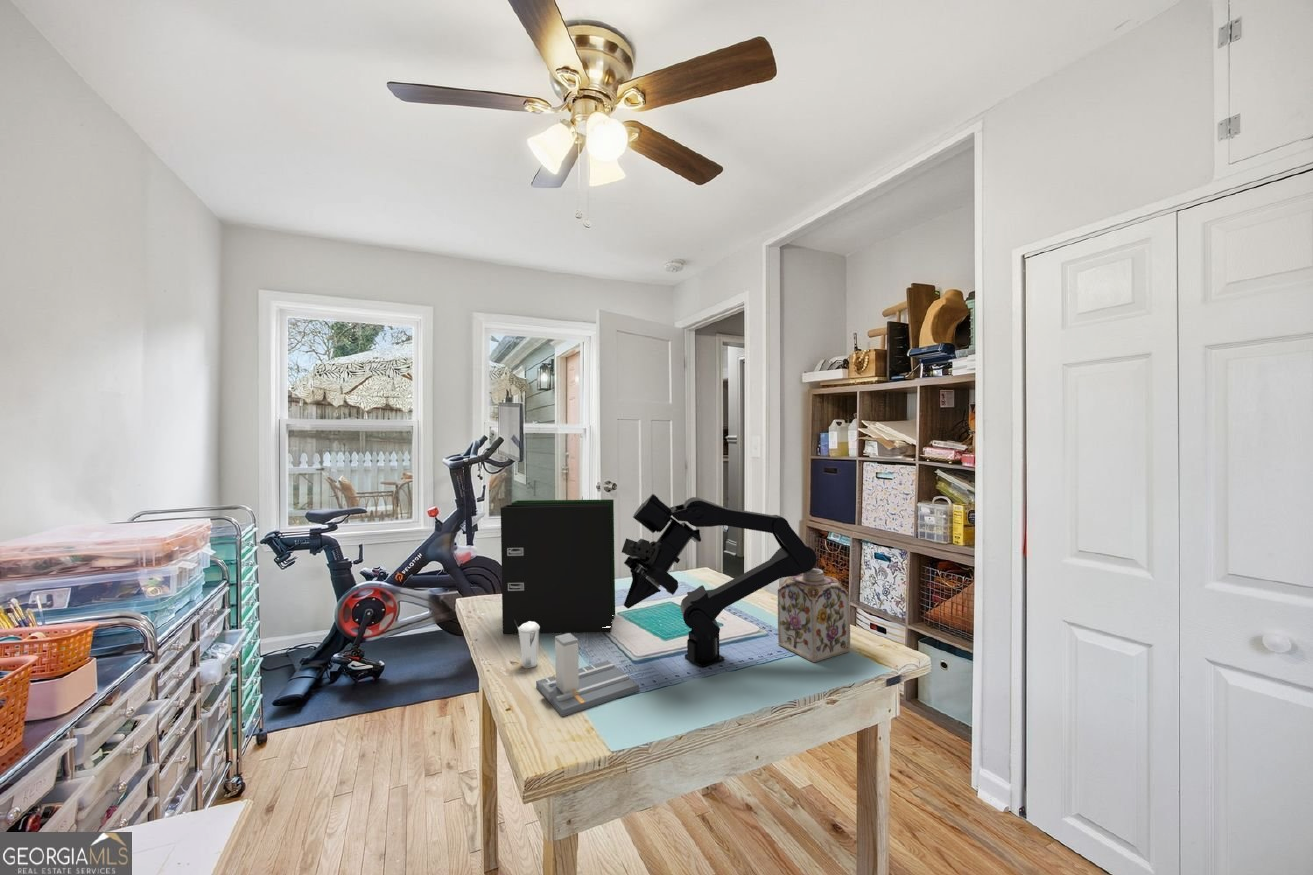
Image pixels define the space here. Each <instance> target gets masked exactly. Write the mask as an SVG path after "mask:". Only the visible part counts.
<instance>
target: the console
mask: <svg viewBox="0 0 1313 875" xmlns="http://www.w3.org/2000/svg"><path fill="white" fill-rule="evenodd" d="M535 682H536V683H535V686H536V689H537V691H539V692H540V694H542V695H543V696H544V698H545V699H546V700H547V702H549V703H550V705H552V707H553V708H554V709H555V710H556V711H557V712H558V713H559V715H560V717H566V716H568V715H572V714H574V713H579V712H581V711H584V710H586V709H590V708H592V707H596V706H597V705H601V704H603V703H607V702H609V701H614V700H616V699H618V698H621V697H624V696H628V695H630V694H633V693H636V692H639V691H640V684H639V683H638V682H637V681H635V680H634V679H633V678H631V677H630V675H628V674H627V673H625V672H624V671H622V670H621V669H619V667H617V666H615V664H614V663H612V662H610V661H609V660H605V661H600V662H597V663H594V664H591V665H587V666H584V667H580V668H579V690H573V691H572V692H569V693H566V694H563V693H562V692H561V691H560V690H559V689H558V688H557V687H556V674H554V675H553V676H549V677H545V678H542V679H538V680H536V681H535Z"/></svg>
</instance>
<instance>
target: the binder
mask: <svg viewBox="0 0 1313 875" xmlns="http://www.w3.org/2000/svg"><path fill="white" fill-rule="evenodd" d="M614 502H615V501H614V499H544V500H543V499H538V500H537V499H533V500H531V499H530V500H529V499H526V500H525V499H523V500H522V499H521V500H515V501H513V502H511V503H510V504H505V505H504V506H502V507H500V548H501V549H500V552H501V557H500V558H501V604H502V605H501V606H502V607H501V610H502V616H501V618H502V619H501V620H502V635H503V636H504V635H506V636H507V635H508V636H509V635H519V631H518V627H520V626H521V625H522V624H523V623H527V622H528V621H531V622H536V623H537V624H538V625H539V626H540V632H539V635H540V634H544V635H545V634H552V635H553V634H567V633H570V634H588V633H591V634H592V633H595V634H596V633H611V632H612V628H613V620H615V616H616V580H615V578H616V571H615V570H616V568H615V519H614V518H615V516H614V515H615V512H614V511H615V510H614V509H615V507H614ZM612 615H614V616H612ZM514 620H515V621H516V623H517V625H518V627H517V625H516V623H515V621H514ZM611 622H612V623H611ZM606 626H611V628H602V627H606Z"/></svg>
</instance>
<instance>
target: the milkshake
mask: <svg viewBox="0 0 1313 875" xmlns="http://www.w3.org/2000/svg"><path fill="white" fill-rule="evenodd" d="M514 621H515V620H514ZM515 623H516V621H515ZM516 625H517V623H516ZM517 627H518V625H517ZM518 631H519V634H518V638H519V645H520V647H519V648H520V655H521V664H522V668H524V669H532V668H535V667H536V666H538V664H539V663H538V660H539V645H540V644H539V642H540V641H539V640H540V634H539V632H540V626H539V625H538V624H537V623H536V622H531V621H528V622H527V623H523V624H522V625H521V626H520V627H518Z"/></svg>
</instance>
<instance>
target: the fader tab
mask: <svg viewBox="0 0 1313 875" xmlns="http://www.w3.org/2000/svg"><path fill="white" fill-rule="evenodd" d="M554 648H555V649H554V653H555V654H554V656H555V658H554V659H555V660H554V662H555V675H556V687H557V688H558V689H559V690H560V691H561V692H562V693H563V694H566V693H569V692H572V691H573V690H579V669H580V668H579V639H578V638H577V637H576V636H574V635H573V633H562V634H559V635H555V637H554Z"/></svg>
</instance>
